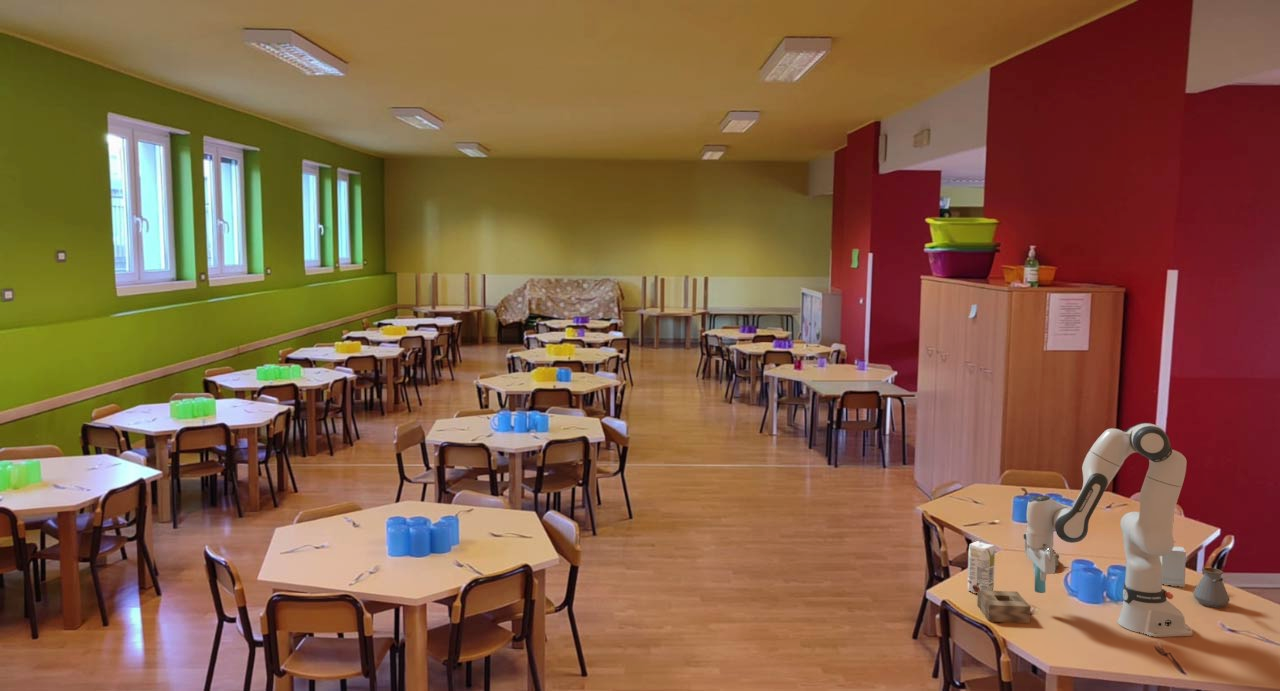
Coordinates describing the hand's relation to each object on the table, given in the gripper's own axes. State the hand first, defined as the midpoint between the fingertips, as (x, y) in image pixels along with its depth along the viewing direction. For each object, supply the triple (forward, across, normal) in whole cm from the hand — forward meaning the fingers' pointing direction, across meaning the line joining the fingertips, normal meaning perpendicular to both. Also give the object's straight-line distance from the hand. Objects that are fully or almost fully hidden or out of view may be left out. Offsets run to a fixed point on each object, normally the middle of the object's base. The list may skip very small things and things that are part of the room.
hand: (1040, 577), depth 313 cm
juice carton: (+12, +17, +16) cm, 27 cm away
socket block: (+12, -4, +14) cm, 19 cm away
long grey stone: (+14, +59, -22) cm, 65 cm away
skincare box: (+16, +33, -62) cm, 72 cm away
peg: (+5, 0, 0) cm, 5 cm away
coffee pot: (+16, +9, -65) cm, 67 cm away
